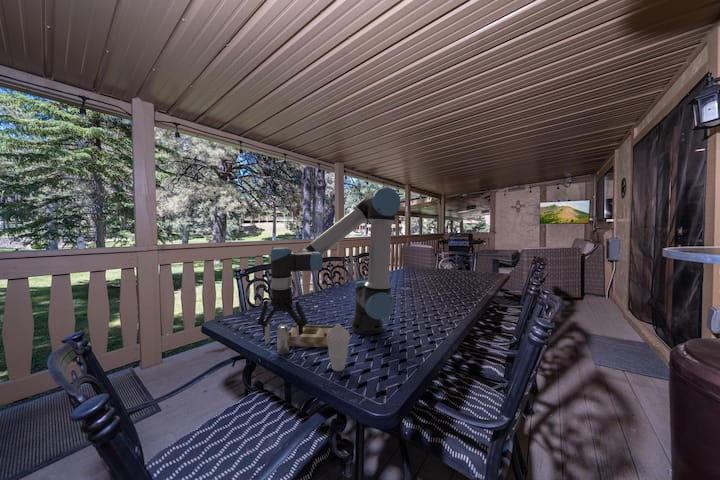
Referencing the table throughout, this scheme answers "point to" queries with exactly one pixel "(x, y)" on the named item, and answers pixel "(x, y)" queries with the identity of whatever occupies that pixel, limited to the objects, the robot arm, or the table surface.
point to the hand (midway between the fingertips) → (283, 342)
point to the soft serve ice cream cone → (338, 346)
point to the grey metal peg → (283, 339)
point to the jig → (310, 336)
